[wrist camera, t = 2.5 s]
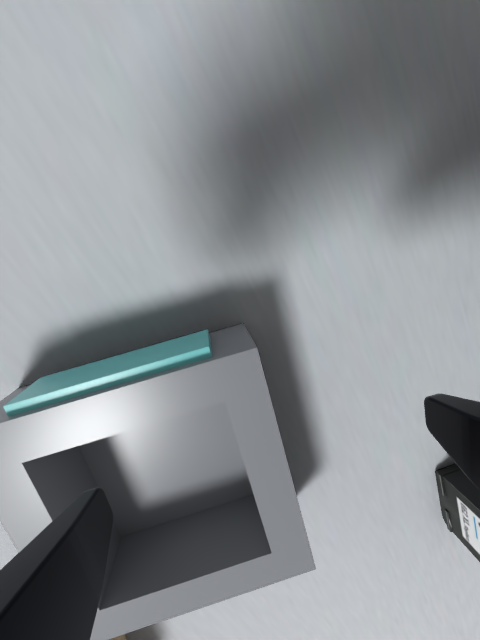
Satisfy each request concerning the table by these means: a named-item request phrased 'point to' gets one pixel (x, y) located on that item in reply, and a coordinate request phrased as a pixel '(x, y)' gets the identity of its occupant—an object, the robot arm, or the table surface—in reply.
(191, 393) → the grey square open box
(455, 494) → the ink cartridge
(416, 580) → the table surface
